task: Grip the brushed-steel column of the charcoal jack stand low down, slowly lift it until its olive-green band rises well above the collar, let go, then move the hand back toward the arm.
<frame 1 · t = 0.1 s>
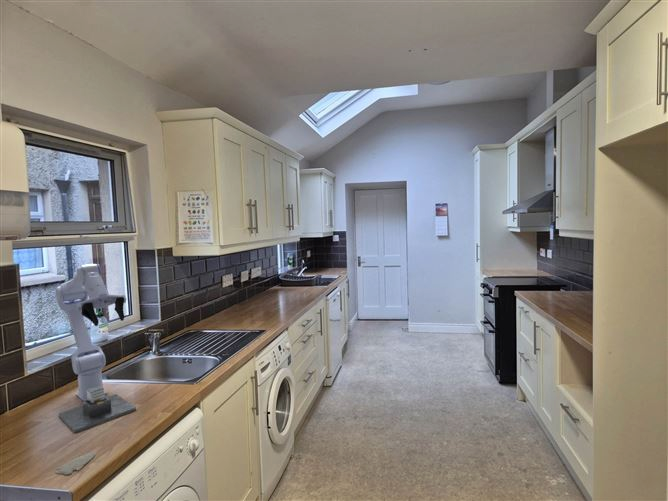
hand: (110, 321, 128), 32 cm above the counter, fingers open, 7 cm apart
column: (96, 399, 133), point 5 cm above the counter, slide at 0.0 cm
stand base: (97, 413, 133), on the counter
arrowhead: (78, 465, 105), on the counter
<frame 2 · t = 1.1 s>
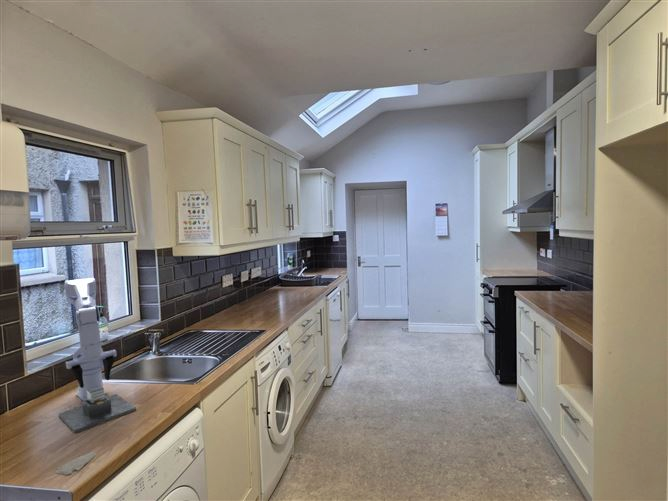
hand: (94, 383, 132), 11 cm above the counter, fingers open, 7 cm apart
nothing on the counter moved.
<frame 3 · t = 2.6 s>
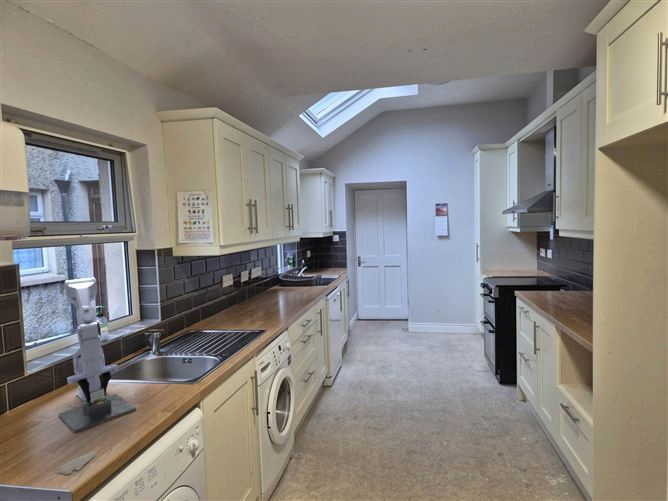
hand: (95, 397, 133), 5 cm above the counter, fingers closed on column, 4 cm apart
column: (96, 399, 133), point 5 cm above the counter, slide at 0.0 cm, touching gripper
everything else where it was.
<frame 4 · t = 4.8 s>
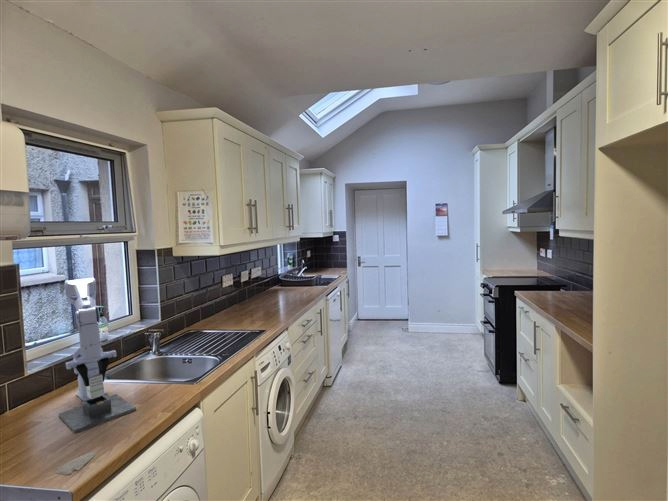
hand: (94, 383, 132), 10 cm above the counter, fingers closed on column, 4 cm apart
column: (94, 385, 132), point 10 cm above the counter, slide at 4.9 cm, touching gripper
everything else where it was.
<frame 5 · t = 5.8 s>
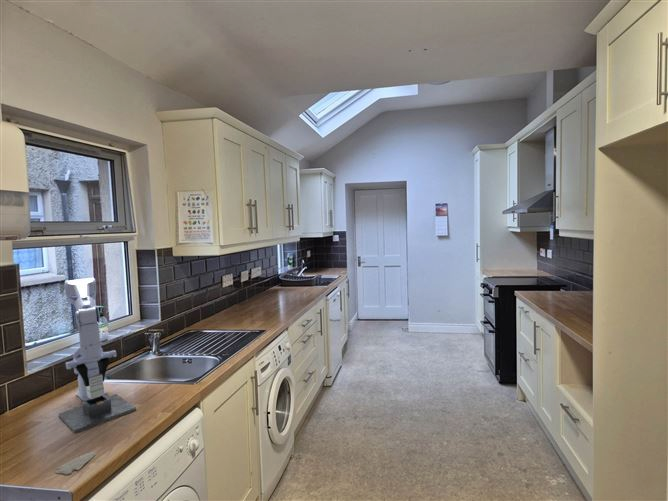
hand: (94, 383, 132), 10 cm above the counter, fingers closed on column, 4 cm apart
column: (94, 385, 132), point 10 cm above the counter, slide at 4.9 cm, touching gripper
everything else where it was.
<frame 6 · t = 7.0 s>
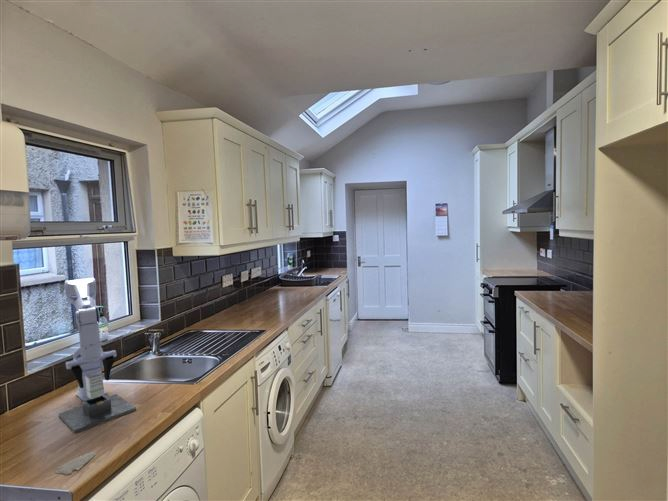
hand: (94, 383, 132), 10 cm above the counter, fingers open, 7 cm apart
column: (94, 385, 132), point 10 cm above the counter, slide at 4.9 cm
everything else where it was.
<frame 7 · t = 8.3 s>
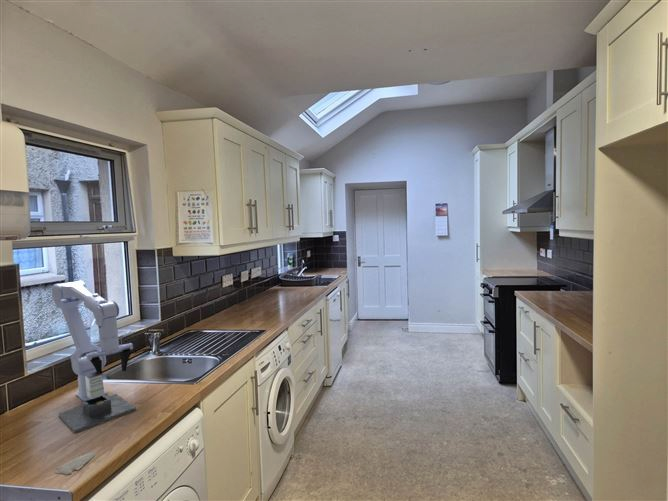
hand: (112, 374, 140), 10 cm above the counter, fingers open, 7 cm apart
nothing on the counter moved.
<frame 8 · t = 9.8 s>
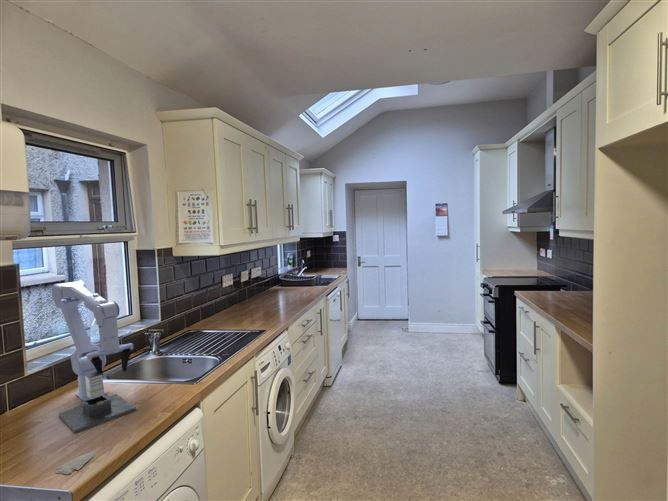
hand: (112, 374, 140), 10 cm above the counter, fingers open, 7 cm apart
nothing on the counter moved.
at the end: column slide at 4.9 cm; the gripper is holding nothing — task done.
